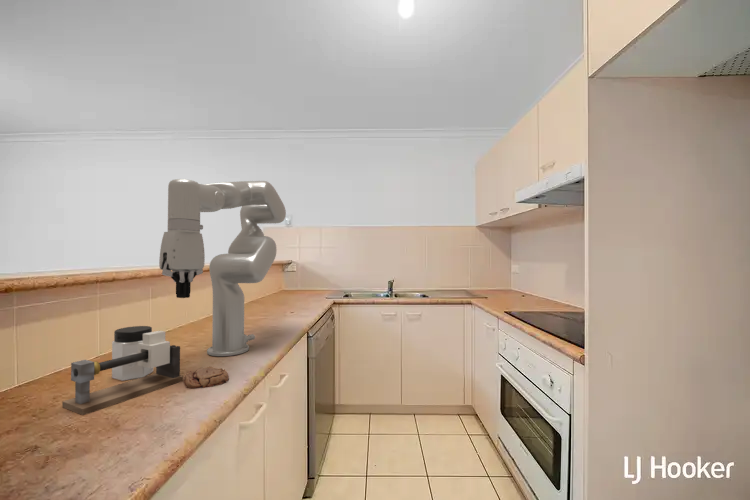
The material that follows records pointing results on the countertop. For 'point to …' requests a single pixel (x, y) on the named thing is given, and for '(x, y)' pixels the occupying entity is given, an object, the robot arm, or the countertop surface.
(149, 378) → the comb rig
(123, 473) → the countertop surface
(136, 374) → the jar
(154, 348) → the sleeve
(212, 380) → the cookie
